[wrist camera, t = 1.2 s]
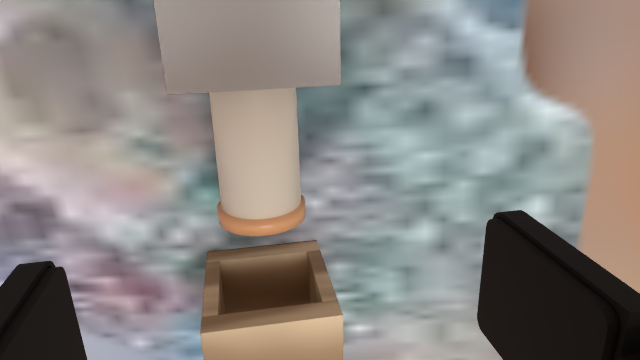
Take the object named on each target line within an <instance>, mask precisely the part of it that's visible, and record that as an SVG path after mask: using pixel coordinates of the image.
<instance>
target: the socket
mask: <svg viewBox="0 0 640 360" xmlns="http://www.w3.org/2000/svg"><path fill="white" fill-rule="evenodd" d="M200 335H201V342H202V349H203V357H204V360H343V314H342V311H341V308H340V305H339V303H338V300H337V297H336V294H335V291H334V289H333V286H332V283H331V280H330V277H329V274H328V272H327V269H326V266H325V263H324V260H323V258H322V255H321V252H320V249H319V246H318V243H317V241H307V242H298V243H288V244H279V245H269V246H260V247H250V248H241V249H232V250H222V251H213V252H207V262H206V274H205V285H204V297H203V308H202V320H201V331H200Z"/></svg>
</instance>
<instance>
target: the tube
mask: <svg viewBox="0 0 640 360" xmlns="http://www.w3.org/2000/svg"><path fill="white" fill-rule="evenodd" d="M209 97H210V106H211V115H212V124H213V134H214V143H215V152H216V161H217V170H218V180H219V189H220V198H221V200H220V202H219V203H218V206H217V207H218V216H219V223H220V225H221V226H222V228H224V229H225V230H227V231H229V232H231V233H234V234H238V235H244V236H267V235H274V234H278V233H282V232H285V231H288V230H290V229H293V228H294V227H296V226H298V225H299V224H300V223H301V222H302V221H303V220H304V218H305V199H304V197H303V196H302V195H301V188H300V165H299V141H298V118H297V94H296V88H281V89H263V90H245V91H228V92H210V93H209Z"/></svg>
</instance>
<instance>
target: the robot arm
mask: <svg viewBox="0 0 640 360" xmlns="http://www.w3.org/2000/svg"><path fill="white" fill-rule="evenodd" d="M477 319H478V324H479V327H480V329H481V331H482V333H483V334H484V335H485V336H486V338H487V339H488V340H489V342H490V343H491V344H492V346H493V347H494V348H495V349H496V351H497V352H498V353H499V355H500V356H501V357H502V359H503V360H640V294H639V293H638V292H636V291H635V290H634V289H632V288H631V287H629V286H628V285H627V284H625V283H624V282H622V281H621V280H620V279H618V278H617V277H615V276H614V275H612V274H611V273H610V272H608V271H607V270H606V269H604V268H603V267H601V266H600V265H599V264H597V263H596V262H594V261H593V260H591V259H590V258H589V257H587V256H586V255H584V254H583V253H582V252H580V251H579V250H577V249H576V248H575V247H573V246H572V245H570V244H569V243H568V242H566V241H565V240H563V239H562V238H560V237H559V236H558V235H556V234H555V233H553V232H552V231H551V230H549V229H548V228H546V227H545V226H544V225H542V224H541V223H539V222H538V221H537V220H535V219H534V218H532V217H531V216H530V215H528V214H527V213H525V212H524V211H522V210H517V211H508V212H498V213H496V214H495V215H494V217H493V219H490V220H489V221H488V222H487V226H486V234H485V244H484V254H483V264H482V273H481V283H480V293H479V303H478V313H477ZM0 360H87V357H86V353H85V349H84V345H83V341H82V337H81V333H80V329H79V325H78V321H77V317H76V313H75V308H74V304H73V300H72V296H71V292H70V288H69V284H68V280H67V276H66V273H65V270H64V269H63V267H55V265H54V263H53V262H51V261H44V262H35V263H26V264H19V265H18V266H17V267H16V268H15V269H14V270H13V271H12V273H11V274H10V275H9V277H8V278H7V279H6V280H5V282H4V283H3V284H2V285H1V287H0Z"/></svg>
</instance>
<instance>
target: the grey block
mask: <svg viewBox="0 0 640 360" xmlns="http://www.w3.org/2000/svg"><path fill="white" fill-rule="evenodd" d="M154 7H155V14H156V22H157V29H158V36H159V43H160V50H161V57H162V64H163V72H164V79H165V86H166V93H167V95H174V94H192V93H210V92H228V91H245V90H263V89H281V88H298V87H316V86H334V85H341V56H340V0H154Z"/></svg>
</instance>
